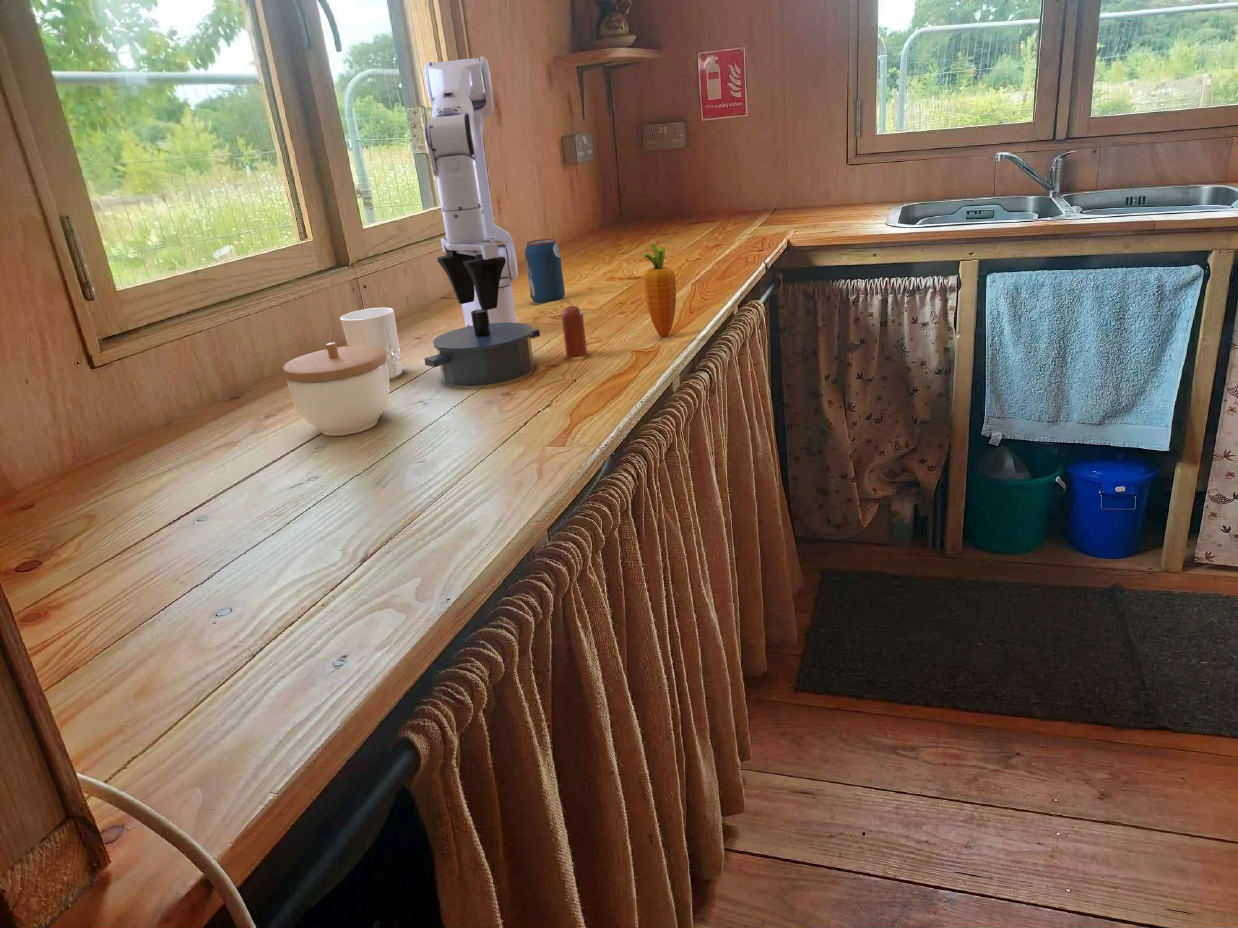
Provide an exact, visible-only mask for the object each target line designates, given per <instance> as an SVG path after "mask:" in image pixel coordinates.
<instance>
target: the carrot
mask: <svg viewBox="0 0 1238 928" xmlns="http://www.w3.org/2000/svg"><path fill="white" fill-rule="evenodd" d="M650 247H651V249H652V252H653V254H654V255H651V254H650V253H648V252H644V253H643V254H642V255H643V257H644V258H647V259H648V260H649V261H650V262H651V263H652V265H653V267H651V268H649V269H647V270H645V271H644V273H643V286H644V295H645V302H646V305H647V309H648V313H649V316H650V320H651V323H652V325H653V327H654V329H655V331H656V333H657V335H658V336H659V337H660V338H663V339H665V338H668V337H669V335H670V332H671V330H672V328H673V324H674V321H675V315H676V304H677V285H676V273H675V271H674V270H673V269H672V268H670V267H668V266H664V262H665V257H666V248H665V247H663V246H661V247H660V248H659V249H658V247H657V244H656V243H655V242H653V243H651V244H650Z"/></svg>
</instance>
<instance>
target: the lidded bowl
mask: <svg viewBox="0 0 1238 928" xmlns="http://www.w3.org/2000/svg"><path fill="white" fill-rule="evenodd" d="M337 346H338V345H337V342H335V341H334V342H327V343H326V344H325V347H326V349H321V350H317V351H313V352H310V353H306V354H303V355H299V356H298V357H295V358H293V359H291V360H289V361H287V362H286V363H285V364H284V365H283V367H282V372H283V376H284V379H285V380H286V383H287V388H288V392H289V394H290V397H291V400H292V402H293V404H294V406H295V408H296V411H297V412H298V413H299V415H300V416H301V417H302V418H303V420H305V422H307V423H308V424H310V425H311V426H312V427H314V428H315V429H317V430H319V431H320V433H321V434H323V435H324V436H329V437H340V436H341V437H342V436H350V435H354V434H358V433H361V432H365V431H368V430H369V429H371V428H373V427H374V426H376V425H377V424H378V422H379V418H380V417H381V415H382V414H383V412H384V411H385V409H386V407H387V405H388V402H389V397H390V378H389V374H388V368H387V363H386V360H387V358H386V352H385V350H384V349H382V348H380V347H377V346H368V345H357V346H347V345H346V346H338V347H337Z"/></svg>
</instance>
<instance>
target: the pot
mask: <svg viewBox="0 0 1238 928" xmlns="http://www.w3.org/2000/svg"><path fill="white" fill-rule="evenodd" d="M532 330H533V334H532V335H531V336H530V337H529V338H527V339H526V340H524V341H521V342H519V343H516V344H513V345H509V346H505V347H501V348H496V349H490V350H483V351H474V352H447V351H441V350H438V349H436V351H437V354H435V355H431V356H428V357H424V365H425V366H427V367H432V368H437V367H440V372H441V373H440V374H441V378H442V379H443V382H444V383H447V384H450V385H454V386H461V387H475V386H476V387H478V386H479V387H480V386H487V385H488V386H489V385H494V384H499V383H505V382H508V381H512V380H516V379H518V378H521V377H523V376H525V375H527V374H529V373H530V372H531V371H532V370H533V368H534V366H535V362H534V361H535V360H534V354H533V348H532V347H533V346H532V341H531V340H532V339H535V338H538V337H540V336H541V331H540V329H538V328H532Z"/></svg>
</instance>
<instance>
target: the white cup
mask: <svg viewBox="0 0 1238 928" xmlns="http://www.w3.org/2000/svg"><path fill="white" fill-rule="evenodd" d="M339 320H340V323H341V326H342V330H343V333H344V337H345V343H346V346H357V345H368V346H377V347H380V348H382V349H384V350H385V352H386V358H387V360H386V363H387V368H388V374H389V379H392V378H395V377H397V376H399V375H401V374H402V373H403V370H402V369H403V368H402V363H401V351H400V343H399V335H398V334H399V333H398V329H397V321H396V316H395V309H394V308H391V307H371V308H364V309H359V310H354V311H350V312H348V313H345V314H343V315H341V316H340V317H339Z"/></svg>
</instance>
